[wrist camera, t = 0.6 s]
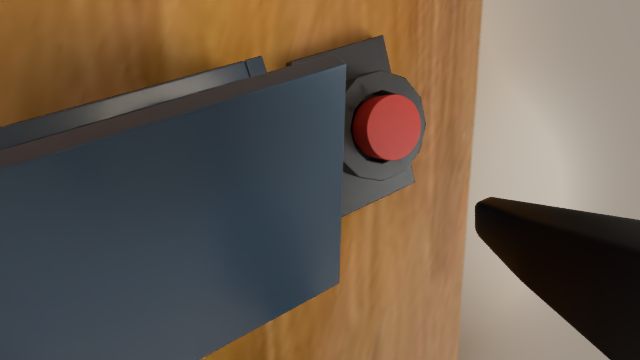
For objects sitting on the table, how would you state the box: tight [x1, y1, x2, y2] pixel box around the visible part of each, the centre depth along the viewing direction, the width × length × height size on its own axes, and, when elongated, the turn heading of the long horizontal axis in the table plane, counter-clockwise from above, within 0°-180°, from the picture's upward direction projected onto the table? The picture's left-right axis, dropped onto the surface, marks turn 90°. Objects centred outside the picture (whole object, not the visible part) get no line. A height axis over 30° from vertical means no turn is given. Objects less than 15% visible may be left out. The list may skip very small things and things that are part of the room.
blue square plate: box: [0, 54, 346, 360], centre depth 12 cm, size 12×12×1 cm
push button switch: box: [286, 35, 426, 217], centre depth 23 cm, size 11×8×3 cm
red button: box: [353, 94, 421, 161], centre depth 21 cm, size 4×4×2 cm
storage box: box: [0, 56, 267, 151], centre depth 18 cm, size 12×12×6 cm
